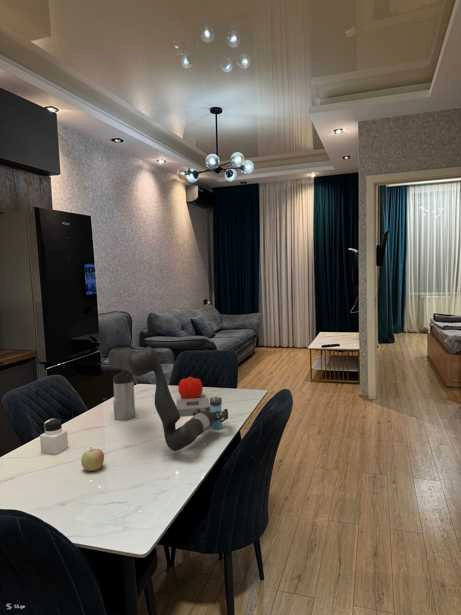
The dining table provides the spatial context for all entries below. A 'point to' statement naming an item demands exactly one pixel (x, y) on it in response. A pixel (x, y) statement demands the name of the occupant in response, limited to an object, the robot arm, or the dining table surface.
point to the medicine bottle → (53, 437)
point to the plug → (215, 407)
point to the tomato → (190, 388)
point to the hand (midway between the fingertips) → (217, 410)
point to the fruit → (92, 459)
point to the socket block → (191, 405)
